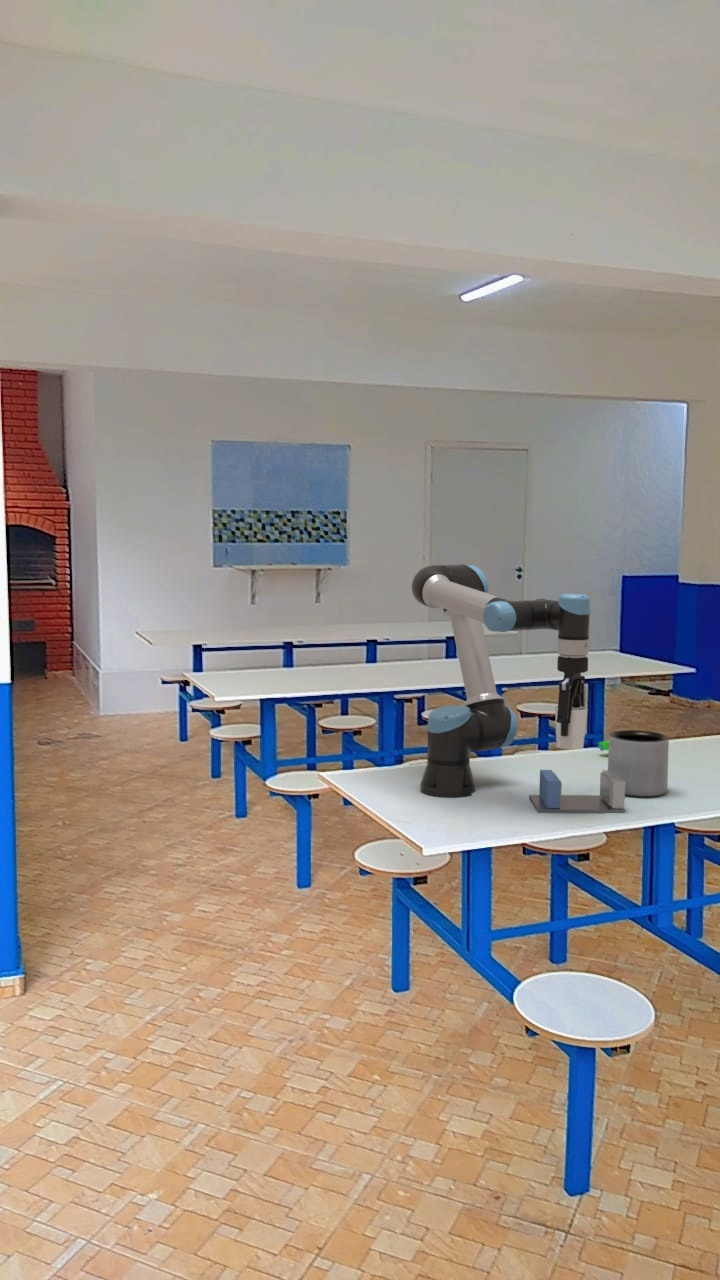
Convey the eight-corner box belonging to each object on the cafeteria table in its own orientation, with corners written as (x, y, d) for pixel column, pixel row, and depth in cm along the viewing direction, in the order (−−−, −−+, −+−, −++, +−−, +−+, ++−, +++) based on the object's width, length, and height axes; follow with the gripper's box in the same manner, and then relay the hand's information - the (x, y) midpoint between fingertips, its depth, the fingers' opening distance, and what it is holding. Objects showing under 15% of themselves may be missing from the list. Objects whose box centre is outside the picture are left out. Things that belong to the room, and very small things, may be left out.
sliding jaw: (547, 807, 255) (547, 780, 255) (539, 795, 267) (540, 769, 267) (561, 808, 255) (562, 781, 255) (552, 795, 267) (553, 769, 266)
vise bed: (537, 813, 255) (537, 809, 254) (529, 798, 268) (529, 794, 268) (625, 814, 254) (625, 810, 254) (611, 799, 268) (611, 795, 268)
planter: (649, 782, 287) (651, 728, 285) (678, 797, 271) (680, 740, 269) (596, 785, 283) (598, 730, 281) (623, 800, 268) (625, 742, 266)
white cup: (548, 747, 253) (550, 708, 252) (561, 742, 259) (563, 703, 258) (578, 751, 248) (579, 711, 247) (590, 746, 255) (592, 707, 254)
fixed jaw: (609, 808, 255) (610, 781, 254) (599, 796, 267) (600, 770, 266) (624, 808, 255) (625, 781, 254) (612, 796, 267) (613, 770, 266)
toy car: (637, 753, 325) (638, 733, 324) (624, 756, 321) (625, 735, 320) (609, 747, 333) (610, 727, 333) (596, 750, 329) (597, 730, 329)
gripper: (575, 661, 241) (572, 755, 243) (599, 652, 258) (596, 740, 261) (544, 659, 244) (542, 751, 247) (571, 650, 262) (568, 736, 265)
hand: (570, 745), depth 254 cm, fingers closed on white cup, 7 cm apart
